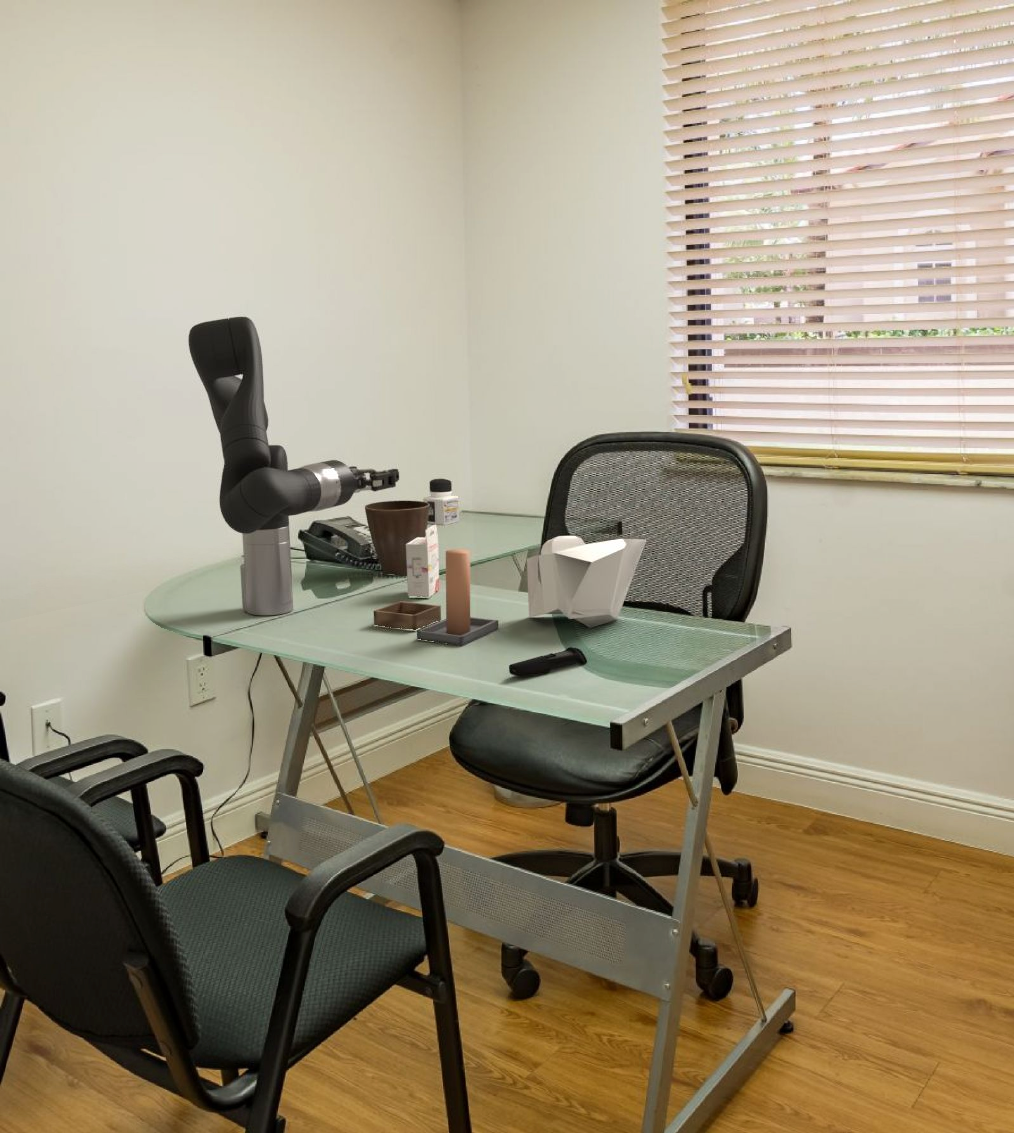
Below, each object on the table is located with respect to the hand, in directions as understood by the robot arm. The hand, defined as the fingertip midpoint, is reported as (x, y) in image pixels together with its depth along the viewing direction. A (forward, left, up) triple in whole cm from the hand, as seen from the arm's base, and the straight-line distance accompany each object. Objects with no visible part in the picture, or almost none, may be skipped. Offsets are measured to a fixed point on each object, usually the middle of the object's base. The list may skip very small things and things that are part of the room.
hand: (375, 473), depth 198 cm
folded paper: (+27, +31, -31) cm, 52 cm away
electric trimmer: (+34, -2, -31) cm, 46 cm away
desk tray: (+9, +11, -30) cm, 34 cm away
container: (-63, +123, -31) cm, 142 cm away
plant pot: (-32, +55, -31) cm, 71 cm away
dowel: (+9, +11, -30) cm, 33 cm away
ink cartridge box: (-15, +37, -31) cm, 51 cm away
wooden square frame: (-4, +14, -30) cm, 34 cm away
